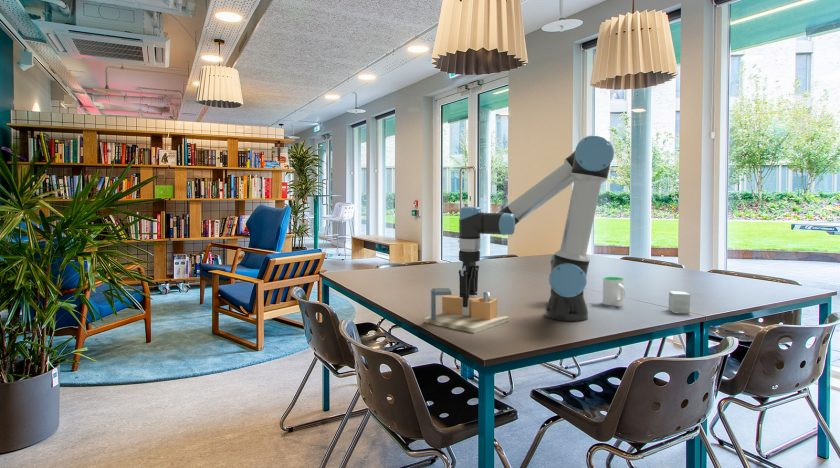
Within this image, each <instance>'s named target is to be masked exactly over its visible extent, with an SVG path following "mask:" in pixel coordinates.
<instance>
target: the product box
mask: <svg viewBox="0 0 840 468" xmlns="http://www.w3.org/2000/svg"><path fill="white" fill-rule="evenodd" d="M690 303H691V294H690V293H688V292H686V291H680V290H679V291H677V290H676V291H675V290H673V291H671V290H669V291H668V307H667V308H668V309H667V310H668V311H669V312H671V311H672V312H678V313H677V314H687V313H689V314H690ZM672 312H671V313H672Z"/></svg>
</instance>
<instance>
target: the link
mask: <svg viewBox="0 0 840 468" xmlns="http://www.w3.org/2000/svg"><path fill="white" fill-rule="evenodd" d="M441 297H442V298H441V307H442V308H441V309H442V311H441V313H448V314H456V315H462V297H460V295H452V294H451V295H442V296H441ZM469 298H470V316H471V318H478V319H486V320H491V319H492V318H494V317H496V316H497V315H498V298H491V297H490V301H489V302H484V297H482V296H479V297H475V298H471V297H469ZM464 316H465V315H464Z"/></svg>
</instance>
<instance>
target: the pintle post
mask: <svg viewBox="0 0 840 468" xmlns="http://www.w3.org/2000/svg"><path fill="white" fill-rule="evenodd" d="M483 298H484V302H489V301H490V298H491V292H490V291H484V292H483Z"/></svg>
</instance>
